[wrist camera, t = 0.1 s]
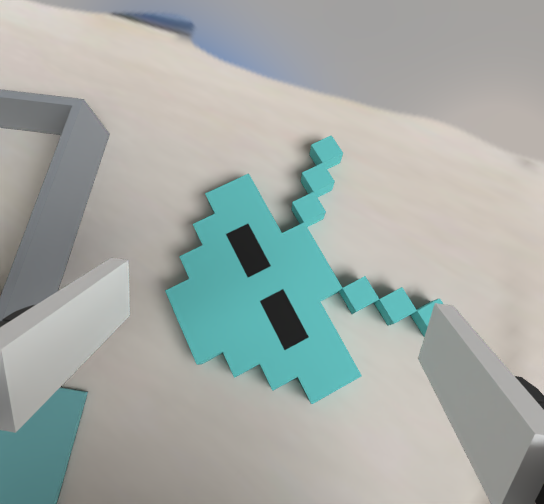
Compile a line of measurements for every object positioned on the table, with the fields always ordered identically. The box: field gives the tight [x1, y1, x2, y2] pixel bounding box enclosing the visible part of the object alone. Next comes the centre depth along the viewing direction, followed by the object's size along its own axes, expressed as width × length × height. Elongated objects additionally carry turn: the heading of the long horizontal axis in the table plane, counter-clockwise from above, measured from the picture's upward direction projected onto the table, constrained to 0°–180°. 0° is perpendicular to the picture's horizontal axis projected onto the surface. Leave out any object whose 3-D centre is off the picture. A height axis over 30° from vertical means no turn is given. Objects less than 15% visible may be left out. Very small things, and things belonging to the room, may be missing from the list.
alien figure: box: [165, 136, 443, 404], centre depth 30 cm, size 20×2×20 cm
